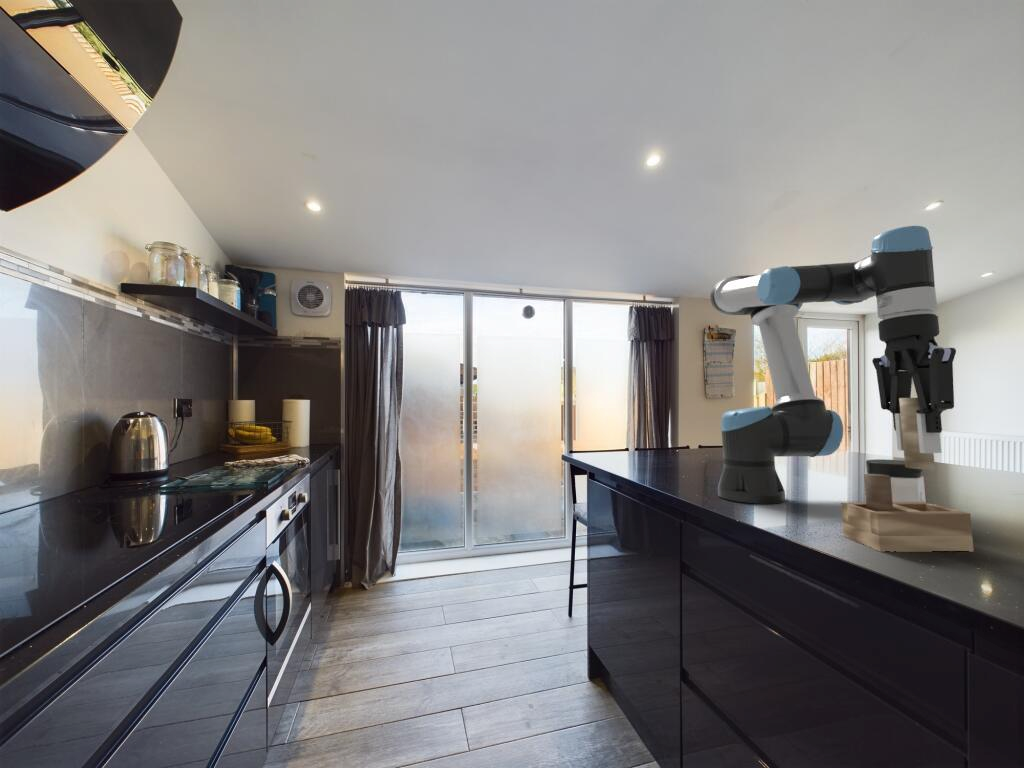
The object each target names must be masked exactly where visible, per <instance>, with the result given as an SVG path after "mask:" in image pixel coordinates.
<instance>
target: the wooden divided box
mask: <svg viewBox="0 0 1024 768" xmlns="http://www.w3.org/2000/svg"><path fill="white" fill-rule="evenodd" d="M840 508H841V520H842V532H843V533H842V535H843V537H844V536H845V538H846V539H849V538H850V539H849V540H851V539H852V541H854V542H856V541H857V543H860V544H861V545H863V544H864V545H863V546H866V547H868V548H870V547H871V548H870V549H873V550H875V551H877V550H878V552H882V553H883V552H885V551H890V553H891V552H893V553H894V551H896V552H898V553H901V552H903V553H905V552H906V553H910V552H911V553H912V552H913V553H914V552H915V553H920V552H921V553H922V552H924V553H926V552H927V553H932V551H969V552H968V553H974V551H975V550H974V542H973V529H972V518H971V513H969V512H965V511H961V510H957V509H955V508H954V509H953V508H949V507H945V506H941V505H937V504H934V503H928V502H926V503H925V502H893V511H880V512H876V511H873V510H869V509H867V507H866V501H864V502H857V501H856V502H852V501H851V502H840ZM896 552H895V553H896ZM885 553H886V552H885Z"/></svg>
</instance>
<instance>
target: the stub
mask: <svg viewBox="0 0 1024 768" xmlns="http://www.w3.org/2000/svg"><path fill="white" fill-rule="evenodd" d="M863 475H864V476H863V479H864V492H865V494H864V495H865V502H866V507H867V509H869V510H873V511H876V512H880V511H893V501H892V489H891V477H890V476H888V475H882V474H867V473H865V474H863Z"/></svg>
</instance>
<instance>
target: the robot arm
mask: <svg viewBox="0 0 1024 768" xmlns="http://www.w3.org/2000/svg"><path fill="white" fill-rule="evenodd" d="M929 231H930V230H928V229H927V227H925V226H922V225H910V226H909V225H907V226H901V227H896V228H893V229H890V230H887V231H885V232H882V233H880V234H877V235H876V236H875V237H874V238H873V239H872V240H871V248H870V252H871V254H870V255H868V256H866V257H864V258H863V259H861V260H859V261H858V260H857V261H854V262H840V263H839V262H838V263H827V264H826V263H824V264H813V265H811V264H810V265H797V266H788V265H786V266H777V267H772V268H768V269H765V270H764V271H763V272H762V273H760V274H747V275H734V276H730V277H726V278H723V279H721V280H720V281H718V282H717V283H715V285H714V286H713V287H712V289H711V292H710V294H709V295H710V296H709V297H710V298H709V299H710V303H711V305H712V307H713V308H714V309H715V310H716V311H717V312H720V313H722V314H725V315H730V316H750V319H751V323H752V324H753V325H755V326H757V327H759V331H760V336H761V341H762V344H763V345H762V346H763V348H764V353H765V357H766V362H767V367H768V371H769V375H770V378H771V379H770V380H771V382H772V383H771V384H772V387H773V392H774V397H775V401H776V402H775V403H774V404H773V406H755V407H747V408H740V409H739V408H738V409H734V410H729V411H725V412H724V413H723V414H722V416H721V427H720V430H721V440H722V441H721V442H722V443H721V444H722V458H723V469H722V472H721V474H720V478H719V482H718V485H717V496H718V497H720V498H722V499H725V500H728V501H733V502H740V503H749V504H761V505H763V504H764V505H765V504H767V505H768V504H769V505H770V504H771V505H772V504H779V503H783V502H786V491H785V489H784V485H783V484H782V482H781V479H780V477H779V475H778V472H777V469H776V461H775V457H778V458H779V457H781V458H782V457H783V458H784V457H809V458H816V457H825V456H831V455H832V454H834V453H835V452H837V450H838V449H839V448H840V446H841V444H842V441H843V438H844V424H843V420H842V418H841V416H840V415H839V414H838V413H837V412H836V411H834V410H831V409H827V408H826V404H825V401H824V400H823V399H821V398H820V397H818V396H816V395H815V391H814V387H813V383H812V380H811V376H810V373H809V369H808V364H807V362H806V358H805V354H804V350H803V346H802V343H801V339H800V335H799V331H798V328H797V323H796V321H795V317H796V316H797V315H798V314H799V311H800V310H801V308H802V307H803V304H806V303H807V304H808V303H826V302H827V303H828V302H829V303H830V302H834V303H835V304H838V305H840V306H841V305H842V306H847V305H853V304H858V303H862V302H865V301H867V300H869V299H870V298H873V297H875V298H876V307H877V311H876V312H877V318H878V319H880V321H879V322H878V335H879V337H878V338H879V340H880V342H883V343H884V344H885V349H884V354H883V355H882V356H880V357H873V358H872V365H873V366H874V369H875V370H876V371H875V372H876V380H877V386H878V393H879V401H880V406H881V407H880V408H881V410H887V411H889V412H890V413H891V414H892V419H893V429H894V431H895V433H896V444H897V451H903V452H904V448H903V437H902V425H901V414H900V402H899V398H912V397H911V395H912V384H913V386H914V389H915V393H916V398H918V401H919V405H920V409H921V410H916V411H917V413H924V414H916V416H917V427H918V438H919V449H920V453H933V454H942V442H941V434H942V431H943V425H942V413H943V412H944V411H947V410H952V409H954V408H955V395H954V394H955V393H954V367H953V364H954V363H953V362H954V360H955V356H956V352H957V350H956V348H955V347H941V346H938V345H939V344H938V342H937V341H936V340H935V338H936V337H937V336H939V335H940V323H939V316H938V315H937V314H935V312H937V311H938V301H937V291H936V285H935V273H934V260H933V248H934V247H933V246H932V241H931V237H930V232H929ZM912 381H913V383H912Z"/></svg>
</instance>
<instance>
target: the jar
mask: <svg viewBox="0 0 1024 768" xmlns="http://www.w3.org/2000/svg"><path fill="white" fill-rule="evenodd" d="M865 465H866V467H865V469H866V474H882V475H888V476H890V477H891V489H892V501H893V502H925V503H927V502H926V500H927V499H926V492H925V491H926V490H925V480H924V476H923V474H922V473H923V469H914V468H907V467H905V460H904V459H903V460H900V459H899V460H898V459H881V458H880V459H878V458H877V459H867V460H866V461H865Z"/></svg>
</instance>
